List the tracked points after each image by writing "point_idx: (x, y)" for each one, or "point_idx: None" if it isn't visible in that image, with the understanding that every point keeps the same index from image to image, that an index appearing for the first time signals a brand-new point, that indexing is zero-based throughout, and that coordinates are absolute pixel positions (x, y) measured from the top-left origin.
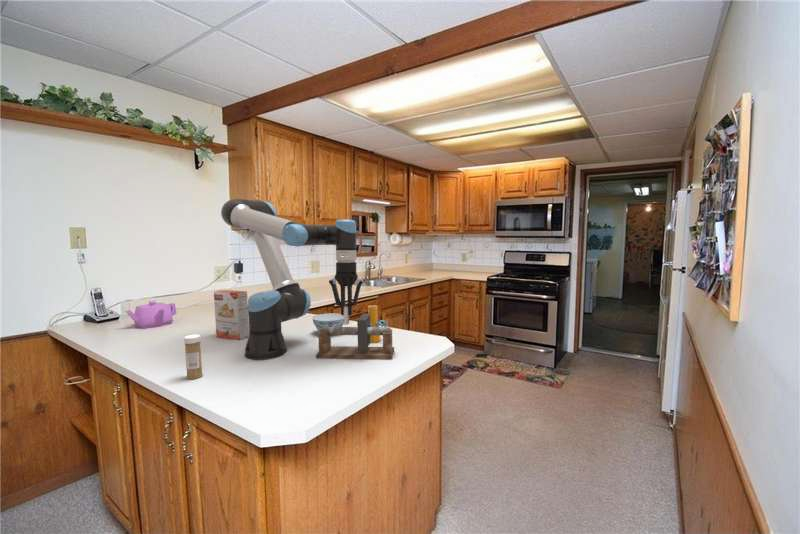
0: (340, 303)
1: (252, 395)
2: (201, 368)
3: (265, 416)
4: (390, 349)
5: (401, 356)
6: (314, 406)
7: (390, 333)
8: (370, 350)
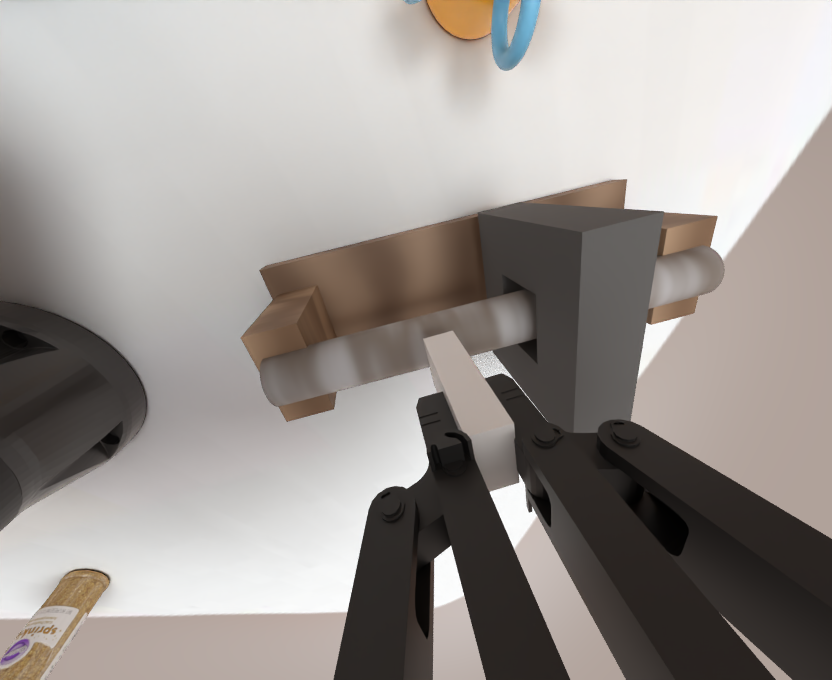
0: (444, 541)
1: (333, 572)
2: (84, 599)
3: None
4: None
5: None
6: None
7: (693, 309)
8: None
